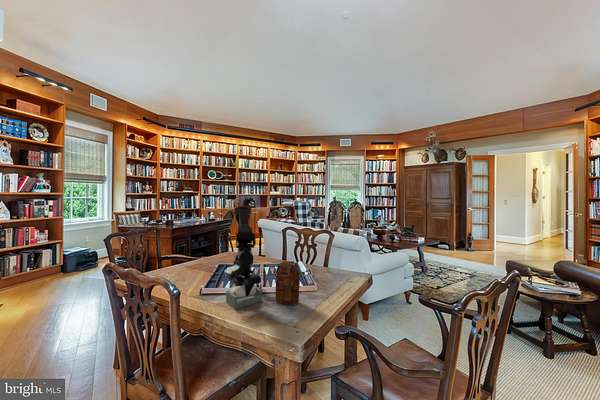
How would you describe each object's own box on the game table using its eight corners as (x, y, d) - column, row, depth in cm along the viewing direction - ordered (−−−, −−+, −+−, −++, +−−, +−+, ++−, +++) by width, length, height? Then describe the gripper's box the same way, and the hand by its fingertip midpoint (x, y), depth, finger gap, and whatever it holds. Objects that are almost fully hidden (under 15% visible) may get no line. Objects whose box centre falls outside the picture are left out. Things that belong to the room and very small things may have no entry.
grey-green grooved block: (252, 295, 133) (252, 284, 133) (261, 301, 127) (261, 290, 127) (226, 302, 125) (226, 291, 124) (234, 309, 119) (234, 297, 118)
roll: (250, 292, 130) (250, 281, 130) (255, 295, 127) (256, 284, 126) (231, 297, 125) (231, 285, 124) (236, 301, 121) (237, 289, 120)
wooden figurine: (271, 302, 126) (272, 262, 124) (276, 297, 132) (277, 258, 130) (296, 307, 122) (298, 265, 121) (301, 301, 128) (302, 261, 127)
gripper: (217, 256, 127) (217, 291, 128) (237, 267, 112) (237, 306, 113) (240, 253, 134) (240, 286, 135) (262, 263, 119) (261, 299, 120)
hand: (244, 294), depth 126 cm, fingers closed on roll, 5 cm apart
